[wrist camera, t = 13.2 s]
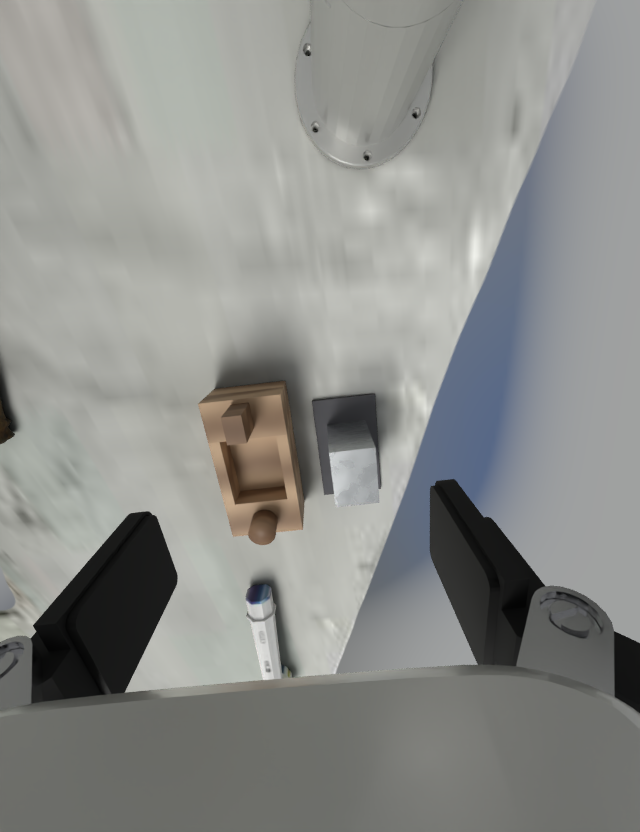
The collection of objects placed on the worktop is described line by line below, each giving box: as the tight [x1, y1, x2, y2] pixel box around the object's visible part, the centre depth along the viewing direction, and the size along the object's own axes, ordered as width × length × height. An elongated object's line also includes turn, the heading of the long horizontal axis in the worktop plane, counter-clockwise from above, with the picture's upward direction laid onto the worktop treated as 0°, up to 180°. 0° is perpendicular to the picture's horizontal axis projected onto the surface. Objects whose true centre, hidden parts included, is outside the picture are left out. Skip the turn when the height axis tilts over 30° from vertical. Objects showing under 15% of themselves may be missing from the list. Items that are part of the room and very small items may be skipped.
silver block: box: [327, 420, 379, 507], centre depth 39 cm, size 7×5×8 cm
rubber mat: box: [312, 394, 381, 495], centre depth 43 cm, size 14×8×1 cm, turn 7°
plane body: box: [198, 381, 304, 545], centre depth 39 cm, size 18×9×10 cm, turn 7°
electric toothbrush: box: [246, 584, 292, 680], centre depth 54 cm, size 5×7×25 cm
